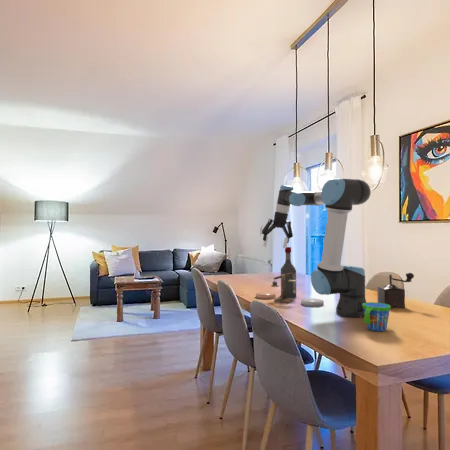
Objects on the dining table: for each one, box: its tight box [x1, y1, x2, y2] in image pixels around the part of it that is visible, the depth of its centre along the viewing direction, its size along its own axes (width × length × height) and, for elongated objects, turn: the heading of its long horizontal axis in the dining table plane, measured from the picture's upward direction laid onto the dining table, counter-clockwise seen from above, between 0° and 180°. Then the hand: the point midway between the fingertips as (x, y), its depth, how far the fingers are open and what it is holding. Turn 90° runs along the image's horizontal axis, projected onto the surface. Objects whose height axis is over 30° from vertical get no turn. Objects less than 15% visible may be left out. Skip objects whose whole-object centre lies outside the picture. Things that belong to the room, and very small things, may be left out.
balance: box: [270, 273, 297, 304], centre depth 204 cm, size 15×6×17 cm, turn 57°
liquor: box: [280, 246, 297, 299], centre depth 218 cm, size 9×9×30 cm
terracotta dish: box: [255, 291, 277, 300], centre depth 217 cm, size 12×12×2 cm
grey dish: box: [300, 297, 325, 308], centre depth 196 cm, size 12×12×2 cm
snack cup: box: [362, 302, 391, 332], centre depth 147 cm, size 16×10×10 cm
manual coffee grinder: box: [376, 272, 415, 309], centre depth 190 cm, size 16×11×18 cm
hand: (274, 247), depth 211 cm, fingers open, 13 cm apart
